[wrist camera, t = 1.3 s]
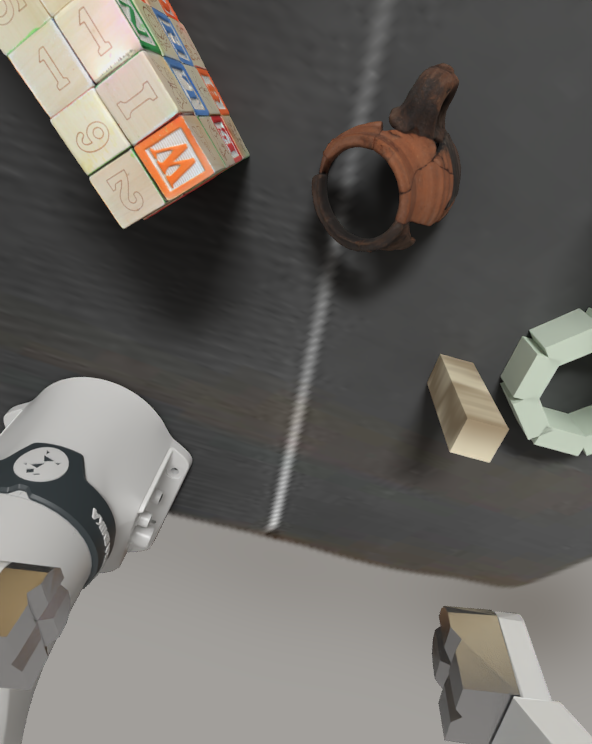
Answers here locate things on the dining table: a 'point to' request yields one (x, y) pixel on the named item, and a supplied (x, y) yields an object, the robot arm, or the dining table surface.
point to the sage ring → (535, 371)
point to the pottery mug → (403, 162)
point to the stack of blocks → (124, 97)
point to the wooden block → (466, 409)
